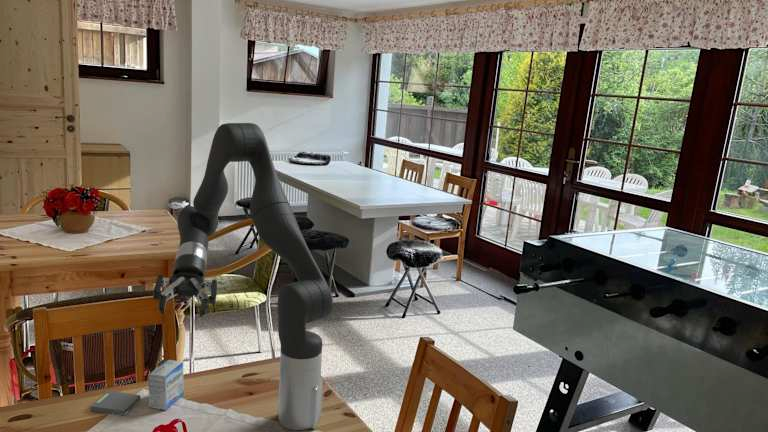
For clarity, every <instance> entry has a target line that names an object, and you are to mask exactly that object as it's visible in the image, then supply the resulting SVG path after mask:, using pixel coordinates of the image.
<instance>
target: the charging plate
mask: <svg viewBox="0 0 768 432" xmlns="http://www.w3.org/2000/svg"><path fill="white" fill-rule="evenodd" d="M140 399H141V394H135V393H128V392H120V391H115V390H114V391H113V390H108V391H106V392H105V393H104V394H103V395H102V396H101V397H99V398H98V399H97V400H96V401H95V402H93V403H92V404H91V405H90V411H91V412H96V413H104V414H110V415H111V414H112V413H113V414H112V415H116V414H122V415H121V416H123V415H124V414H125V413H126V412H127V411H128V410H129V411H131V410H132V409H133V408H134V407H135V406H136V405H137V404H138V403H139V402H140V401H141V400H140ZM139 400H140V401H139ZM138 401H139V402H138ZM137 402H138V403H137ZM136 403H137V404H136ZM135 404H136V405H135ZM134 405H135V406H134ZM133 406H134V407H133ZM132 407H133V408H132ZM131 408H132V409H131ZM129 411H128V412H129ZM128 412H127V413H128ZM127 413H126V414H127ZM126 414H125V415H126ZM125 415H124V416H125Z"/></svg>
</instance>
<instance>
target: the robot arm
mask: <svg viewBox="0 0 768 432" xmlns="http://www.w3.org/2000/svg"><path fill="white" fill-rule="evenodd" d="M271 155H272V154H271V151H270V149H269V144H268V143H267V139H266V137H265V134H264V132H263V130H262V129H261V128H260V126H259V125H258V124H256V123H252V122H227V123H223V124H220V125H219V126H218V127H217V129H216V130H215V133H214V135H213V138H212V141H211V146H210V150H209V155H208V158H207V164H206V167H205V172H204V175H203V179H202V181H201V184H200V185H199V188H198V190H197V192H196V194H195V195H194V198H193V201H192V205H193V206H191V205H186V206H184V207H183V208H181V209H180V211H178V216H177V222H176V223H177V229H178V234H179V246H178V250H177V252H176V255H175V260H174V265H173V271H172V275H171V276H170V278H169V277H164V275H163V274H158V275H157V278H156V281H155V284H154V288H153V290H152V299H153V300H159V302H158V312H160V314H165V311H166V307H167V301H169V300H170V299H173V298H175V297H176V296H179V297H185V296H186V297H189V298H190V297H191V298H192V297H194V298H195V299H196V301H198V302H200V309H199V317H200V318H202V317H204V315H205V316H206V314H207V311H208V305H215V304H216V301H217V293H218V280H217V279H212V280H211V281H206V280H205V277H206V276H205V275H206V271H207V270H206V268H207V262H208V250H209V248H208V246H209V237H211V236H213V235H214V234H216V231H217V229H218V224H219V213H220V209H221V208H222V205H223V204H224V202H225V200H226V199H227V195H228V194H229V193H228V192H229V182H228V179H227V176H226V174H225V171H224V170H225V168H226V167H227V165H228V164H229V163H237V162H248V163H249V164H250V167H251V169H252V171H253V174H254V179H255V181H254V187H253V191H252V195H251V199H250V203H249V213H250V214H249V215H250V217H251V220H252V222H253V225H254V227H255V229H256V231H257V235H258V236H259V238H260V240H261V241H262V242H263V243H264V244H265V245H266V246H267V247H268V248H269V249H270V250H271V251H272V252H273V253H275V254H276V255H277V256H279V258H281V259H282V260H283V261H284V262H286V264H288V266H289V267H290V269H291V270H292V271H293V274H294V276H295V277H296V279H297V281H296V282H291V283H287V284H285V285H283V286H282V287H281V288H280V290H279V293H278V299H277V329H278V331H277V332H278V339H279V343H280V355H279V356H280V357H279V382H278V383H279V384H278V386H279V387H278V388H279V389H278V411H277V414H278V417H277V419H278V423H279V424H280V425H281V426H282V427H283V428H285V429H288V430H291V431H292V430H293V431H304V430H309V429H311V430H312V429H313V430H314V429H316V427H317V425H318V423H319V420H320V418H321V415H322V407H323V406H322V405H323V404H322V403H323V402H322V401H323V381H324V379H323V377H322V360H323V359H322V358H323V357H322V356H323V339H322V337H321V336H320V335H319V334H317V333H315V332H313V331H310V330H307V329H306V324H309V323H311V322H316V321H318V320H322V319H325V318H327V317H329V316H330V315H331V313H332V311H333V307H334V300H333V295H332V292H331V289H330V287H329V284H328V283H327V281H326V279H325V277H324V275H323V273H322V271H321V270H320V268H319V266H318V264H317V262H316V261H315V258H314V257H313V255H312V253H311V251H310V249H309V247H308V245H307V242H306V240H305V238H304V236H303V233H302V231H301V228H300V227H299V224H298V221H297V219H296V216H295V213H294V211H293V209H292V206H291V205H290V202H289V200H288V198H287V195H286V194H285V191H284V188H283V185H282V184H281V181H280V178H279V176H278V174H277V171H276V168H275V165H274V162H273V158H272V156H271ZM167 284H168V286H167V287H166V285H167ZM164 287H166V289H164V290H162V288H164ZM205 288H207V290H208V292H210V295H208V294H207V293H206V292H205Z"/></svg>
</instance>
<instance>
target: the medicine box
mask: <svg viewBox="0 0 768 432" xmlns="http://www.w3.org/2000/svg"><path fill="white" fill-rule="evenodd" d="M184 385H185V384H184V362H182V361H178V360H173V359H166V360H165V361H164V362H163V363H162V364H160V365H159V366H157V368H155V369H154V370H152V371H151V372H150V373H149V374H148V403H149V404H148V405H149V408H150V407H151V409H155V408H156V409H155V410H160V409H163V410H162V411H168V410H169V409H170V407H171V405H172V404H173V403H174V402H175V403H176V402H177V400H179V399H180V398H181V397H182V396H184V395H185V393H184V392H185V391H184V389H185V388H184ZM175 403H174V404H175ZM174 404H173V405H174ZM173 405H172V406H173Z"/></svg>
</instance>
